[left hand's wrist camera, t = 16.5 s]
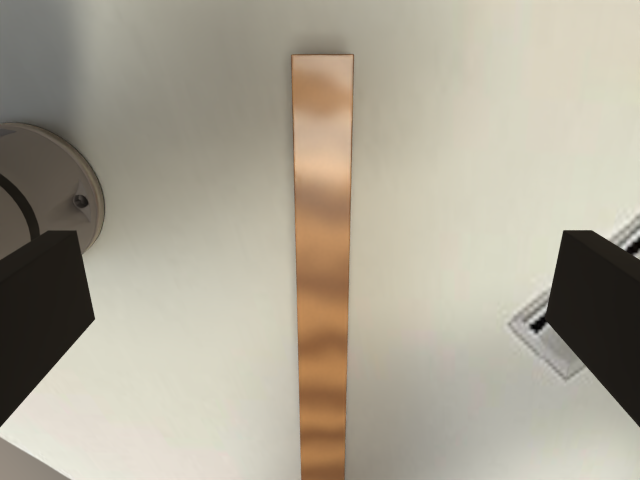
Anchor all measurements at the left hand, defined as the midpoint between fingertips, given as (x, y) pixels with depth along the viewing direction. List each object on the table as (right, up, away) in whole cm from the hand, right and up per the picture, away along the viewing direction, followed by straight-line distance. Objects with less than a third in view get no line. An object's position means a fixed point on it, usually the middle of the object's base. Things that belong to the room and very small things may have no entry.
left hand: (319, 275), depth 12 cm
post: (0, -12, +41) cm, 43 cm away
